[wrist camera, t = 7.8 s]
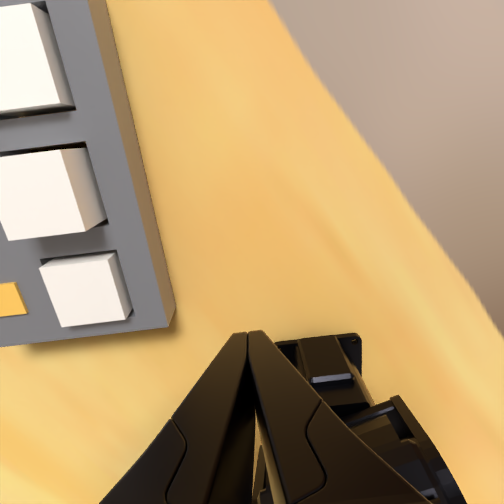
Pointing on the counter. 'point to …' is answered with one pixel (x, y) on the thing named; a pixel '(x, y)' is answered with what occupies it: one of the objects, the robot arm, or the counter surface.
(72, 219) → the middle key
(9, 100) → the key
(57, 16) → the keyguard plate
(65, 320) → the key
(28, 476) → the counter surface
